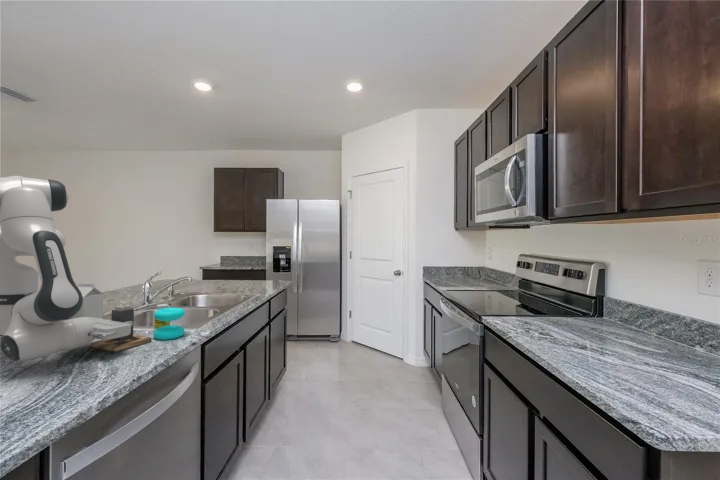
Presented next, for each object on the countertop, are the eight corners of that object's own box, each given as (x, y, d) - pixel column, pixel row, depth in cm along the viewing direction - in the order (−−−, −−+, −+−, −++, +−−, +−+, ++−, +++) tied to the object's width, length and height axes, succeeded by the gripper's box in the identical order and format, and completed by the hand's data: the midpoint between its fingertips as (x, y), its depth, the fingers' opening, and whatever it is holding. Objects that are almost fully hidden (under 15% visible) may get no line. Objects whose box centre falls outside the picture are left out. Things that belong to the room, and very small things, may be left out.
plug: (110, 339, 109) (112, 301, 109) (124, 336, 113) (125, 299, 113) (119, 341, 108) (121, 303, 108) (133, 338, 112) (134, 300, 112)
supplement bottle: (171, 326, 133) (172, 303, 133) (167, 330, 128) (167, 306, 128) (157, 327, 132) (157, 303, 132) (151, 331, 127) (152, 306, 127)
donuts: (174, 313, 115) (147, 312, 116) (174, 341, 116) (146, 340, 116) (190, 307, 125) (165, 306, 126) (189, 333, 125) (164, 332, 126)
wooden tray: (90, 347, 107) (90, 342, 107) (127, 337, 118) (127, 332, 118) (115, 352, 103) (115, 347, 103) (151, 341, 114) (151, 337, 114)
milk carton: (82, 339, 114) (84, 285, 114) (66, 337, 116) (68, 284, 116) (102, 333, 121) (103, 283, 121) (86, 332, 123) (88, 282, 123)
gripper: (102, 326, 95) (147, 316, 108) (58, 318, 102) (105, 309, 115) (101, 347, 95) (146, 335, 108) (57, 338, 102) (105, 327, 115)
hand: (125, 322), depth 111 cm, fingers closed on plug, 4 cm apart
